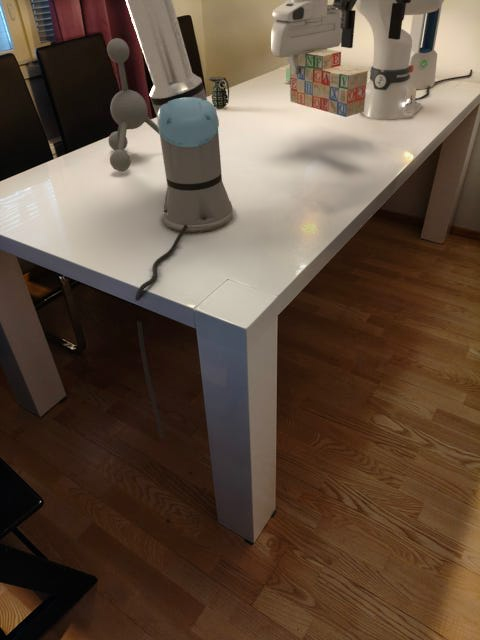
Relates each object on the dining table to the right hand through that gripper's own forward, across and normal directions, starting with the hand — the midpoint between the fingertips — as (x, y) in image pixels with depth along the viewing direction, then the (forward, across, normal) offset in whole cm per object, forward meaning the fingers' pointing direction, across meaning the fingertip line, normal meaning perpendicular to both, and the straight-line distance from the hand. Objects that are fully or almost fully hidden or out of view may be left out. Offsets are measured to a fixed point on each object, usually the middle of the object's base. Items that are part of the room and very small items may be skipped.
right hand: (306, 71), depth 124 cm
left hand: (-9, +2, +22) cm, 24 cm away
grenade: (+21, -7, -56) cm, 60 cm away
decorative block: (+21, -61, -67) cm, 93 cm away
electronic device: (+21, -78, -27) cm, 85 cm away
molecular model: (+20, +36, -27) cm, 50 cm away
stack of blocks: (+7, 0, +7) cm, 10 cm away
